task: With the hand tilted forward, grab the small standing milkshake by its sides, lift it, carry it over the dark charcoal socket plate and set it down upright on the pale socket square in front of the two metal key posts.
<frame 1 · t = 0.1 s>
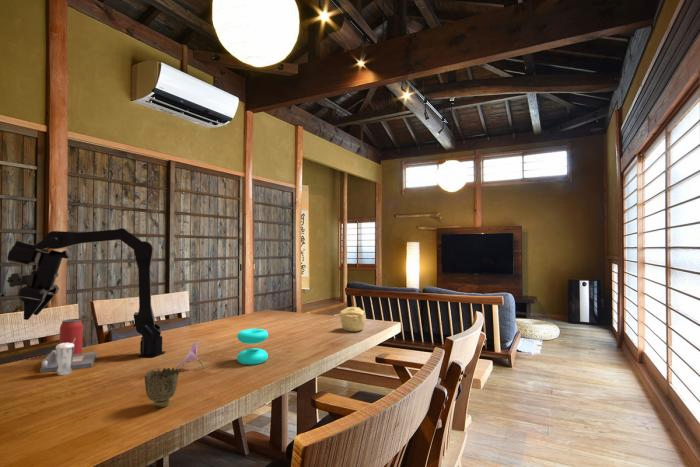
hand: (30, 317, 124), 15 cm above the table, tool pointing down, fingers open, 9 cm apart
beer can: (70, 355, 138), on the table
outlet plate: (70, 363, 127), on the table
donuts: (252, 361, 131), on the table
cup: (161, 406, 94), on the table
lily: (190, 370, 122), on the table
milkshake: (65, 373, 117), on the table
pale yellow rounded lump: (353, 330, 180), on the table
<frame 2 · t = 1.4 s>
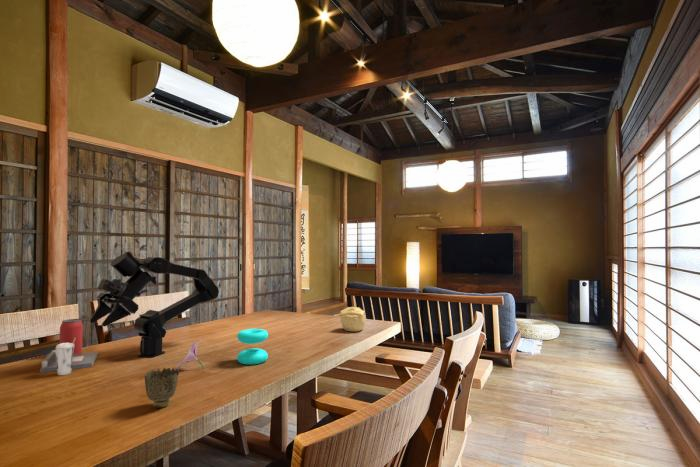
hand: (96, 323, 124), 13 cm above the table, tool tilted 45°, fingers open, 9 cm apart
nothing on the table moved.
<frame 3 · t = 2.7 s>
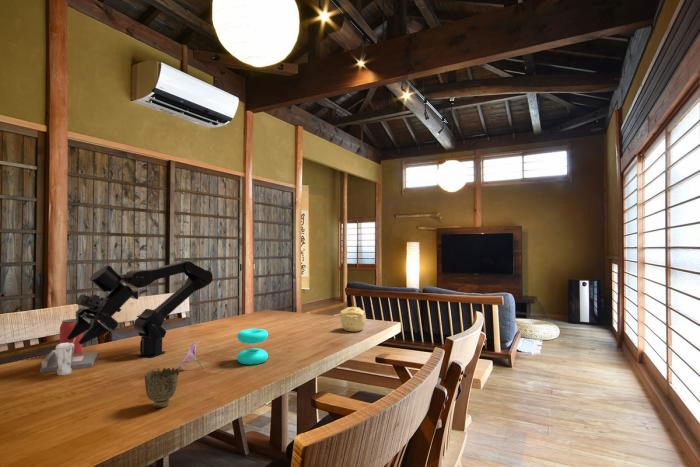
hand: (73, 341, 119), 9 cm above the table, tool tilted 45°, fingers open, 9 cm apart
nothing on the table moved.
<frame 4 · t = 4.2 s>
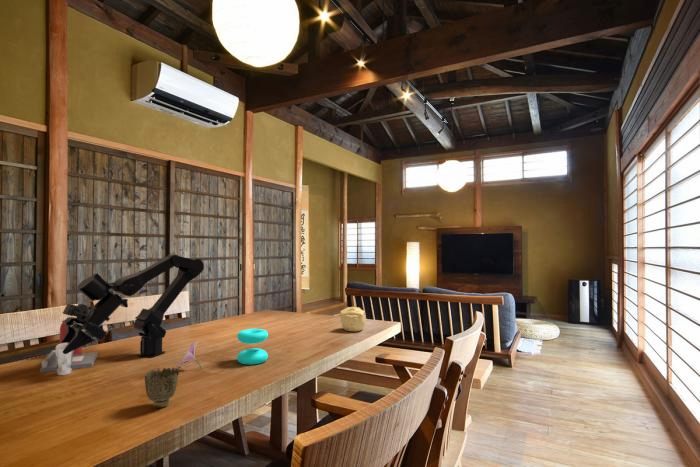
hand: (60, 351, 117), 7 cm above the table, tool tilted 45°, fingers closed on milkshake, 4 cm apart
milkshake: (65, 373, 117), on the table, touching gripper
everything else where it was.
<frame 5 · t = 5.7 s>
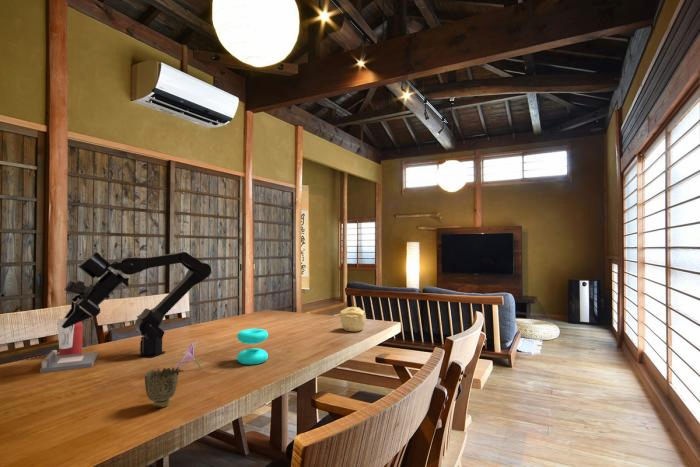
hand: (62, 326, 121), 13 cm above the table, tool tilted 45°, fingers closed on milkshake, 4 cm apart
milkshake: (67, 348, 122), point 6 cm above the table, touching gripper
everything else where it was.
when the fingers open (9 cm above the table, at t = 7.1 s): milkshake drops 1 cm, resting on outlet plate.
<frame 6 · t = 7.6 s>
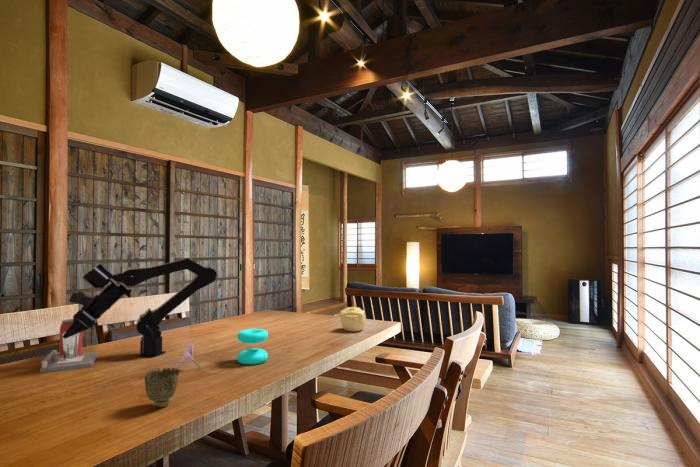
hand: (66, 334, 127), 9 cm above the table, tool tilted 45°, fingers open, 9 cm apart
milkshake: (71, 359, 127), point 1 cm above the table, touching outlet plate
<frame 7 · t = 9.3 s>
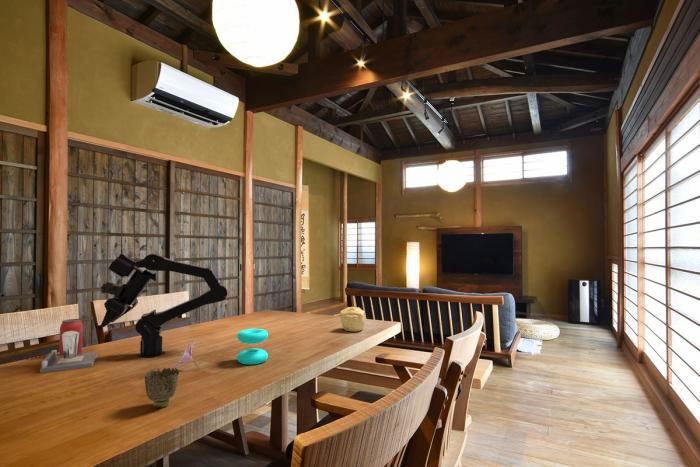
hand: (106, 324, 134), 11 cm above the table, tool tilted 35°, fingers open, 9 cm apart
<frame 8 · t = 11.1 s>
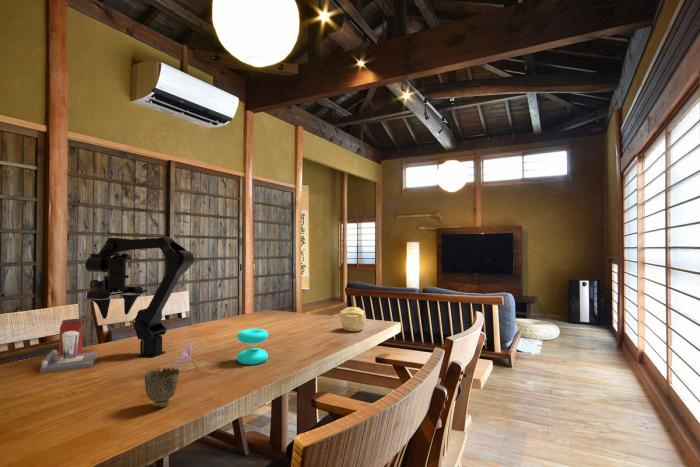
hand: (115, 316, 140), 13 cm above the table, tool pointing down, fingers open, 9 cm apart
at the end: milkshake inside the target area on the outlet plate (0.2 cm from its centre), point 1.2 cm above the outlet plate's base; milkshake tilted 0°; the gripper is holding nothing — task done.
